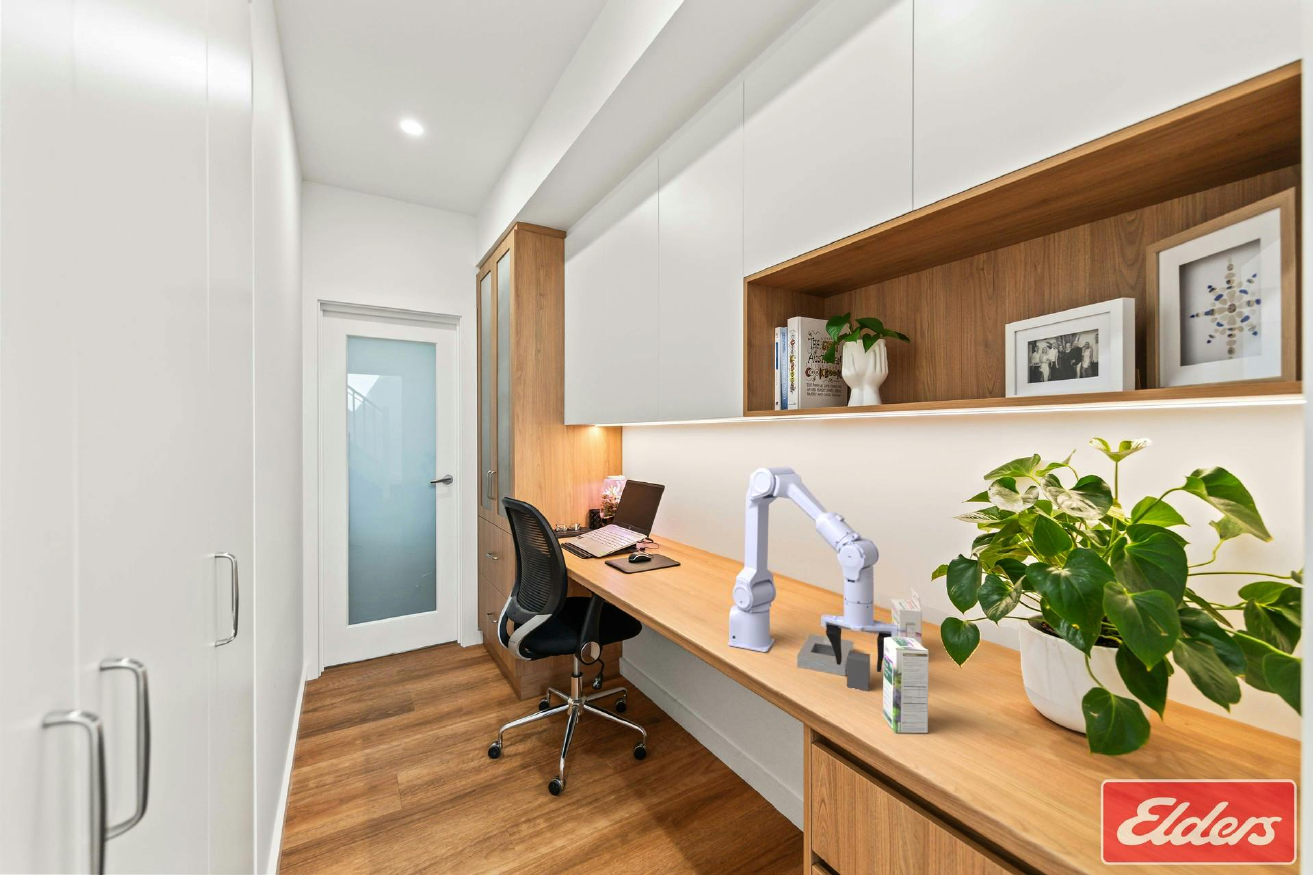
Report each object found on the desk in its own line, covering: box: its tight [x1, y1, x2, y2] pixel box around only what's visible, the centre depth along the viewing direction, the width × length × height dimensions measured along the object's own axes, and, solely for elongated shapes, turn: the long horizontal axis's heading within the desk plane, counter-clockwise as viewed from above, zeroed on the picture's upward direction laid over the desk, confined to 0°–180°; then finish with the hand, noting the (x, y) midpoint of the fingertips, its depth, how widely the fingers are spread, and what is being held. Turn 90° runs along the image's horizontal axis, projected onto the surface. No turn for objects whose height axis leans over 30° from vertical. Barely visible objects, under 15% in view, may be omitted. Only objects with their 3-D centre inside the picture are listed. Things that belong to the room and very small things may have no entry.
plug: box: [846, 650, 871, 692], centre depth 108 cm, size 4×4×6 cm
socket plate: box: [796, 633, 854, 677], centre depth 121 cm, size 10×14×3 cm
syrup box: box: [882, 637, 930, 734], centre depth 93 cm, size 6×6×14 cm
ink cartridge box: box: [890, 587, 923, 646], centre depth 123 cm, size 9×5×15 cm, turn 168°
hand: (858, 666), depth 108 cm, fingers open, 7 cm apart
